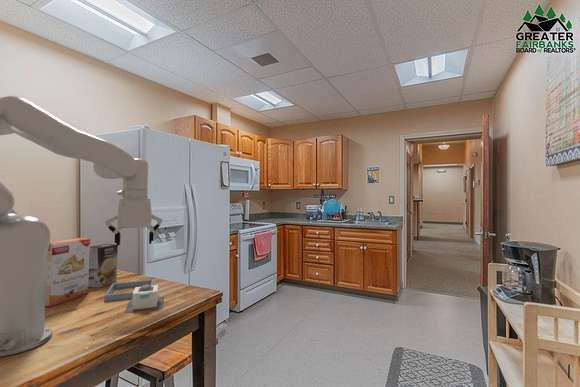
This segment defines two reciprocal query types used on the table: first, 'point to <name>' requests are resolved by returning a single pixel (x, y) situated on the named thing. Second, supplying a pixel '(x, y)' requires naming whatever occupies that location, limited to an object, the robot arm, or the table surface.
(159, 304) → the board
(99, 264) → the coffee box
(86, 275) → the cracker box
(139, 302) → the collar
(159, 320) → the table surface
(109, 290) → the tray
